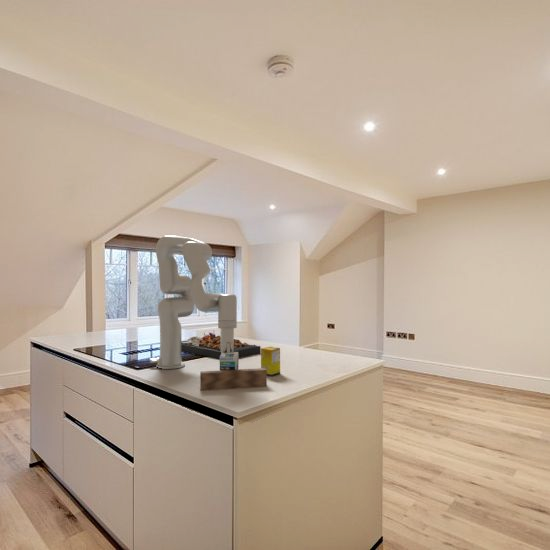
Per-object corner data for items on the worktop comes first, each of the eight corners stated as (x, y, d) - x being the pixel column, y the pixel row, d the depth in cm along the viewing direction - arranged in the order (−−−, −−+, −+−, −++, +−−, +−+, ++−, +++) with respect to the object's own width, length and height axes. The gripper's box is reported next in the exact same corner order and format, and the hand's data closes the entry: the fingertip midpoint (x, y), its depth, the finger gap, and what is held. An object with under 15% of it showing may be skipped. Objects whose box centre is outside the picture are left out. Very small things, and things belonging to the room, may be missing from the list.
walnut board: (200, 390, 131) (200, 373, 131) (200, 388, 134) (200, 371, 134) (266, 386, 136) (266, 369, 136) (265, 384, 139) (265, 368, 139)
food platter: (174, 350, 211) (174, 332, 211) (208, 345, 230) (208, 328, 230) (226, 361, 181) (226, 340, 182) (260, 354, 200) (260, 335, 200)
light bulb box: (237, 385, 136) (237, 356, 136) (219, 386, 136) (219, 357, 136) (238, 378, 147) (238, 351, 147) (221, 378, 147) (221, 351, 147)
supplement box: (269, 371, 158) (269, 346, 158) (280, 373, 154) (280, 347, 154) (260, 374, 153) (260, 348, 154) (271, 376, 150) (271, 349, 150)
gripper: (217, 322, 157) (217, 365, 157) (219, 326, 142) (219, 374, 142) (234, 322, 158) (234, 364, 158) (238, 326, 144) (238, 373, 143)
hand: (227, 369), depth 150 cm, fingers closed
